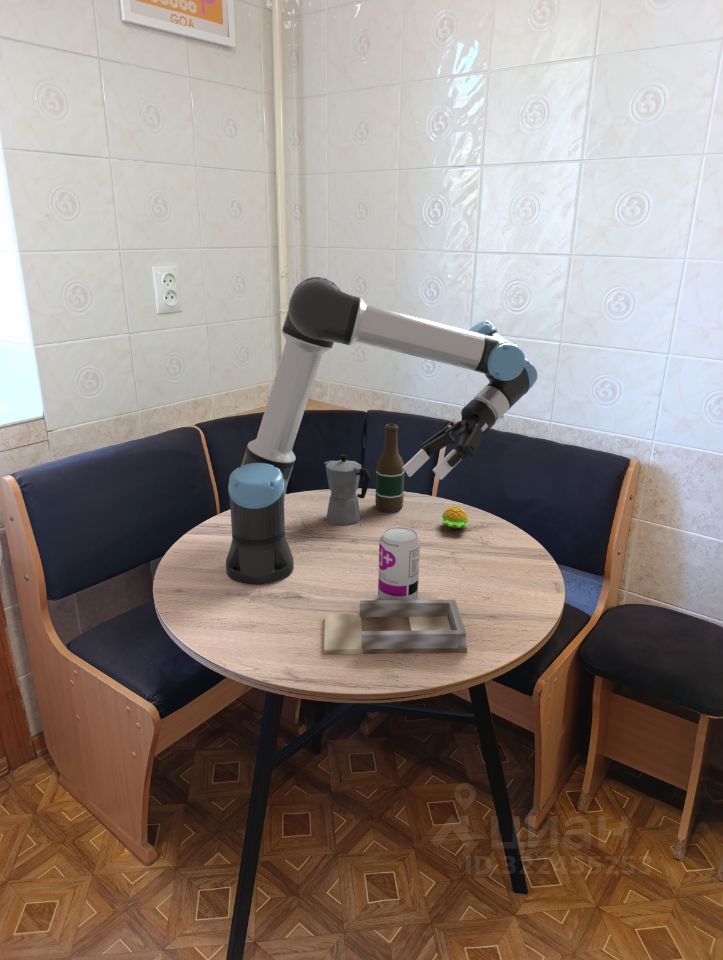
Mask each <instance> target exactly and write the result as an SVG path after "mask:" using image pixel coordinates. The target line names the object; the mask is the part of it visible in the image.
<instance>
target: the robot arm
mask: <svg viewBox="0 0 723 960" xmlns="http://www.w3.org/2000/svg"><path fill="white" fill-rule="evenodd" d="M281 333H282V335H283V337H284V339H285V342H284V343H285V344H284V347H283V351H282V354H281V356H280V361H279V362H278V366H277V370H276V373H275V377H274V380H273V383H272V386H271V390H270V393H269V396H268V400H267V402H266V405H265V410H264V413H263V416H262V419H261V421H260V422H261V423H260V426H259V429H258V431H257V435H256V438H255V439H252V440H251V441H249V442H248V443H247V446H246V448H245V449H246V450H245V452H244V456H243V458H242V462H241V465H240V467H236V469H234V470H233V471H232V472H231V473H230V475H229V480H228V486H227V488H228V491H227V492H228V495H229V507H230V508H229V509H230V523H231V524H230V525H231V537H232V538H231V542H230V543H231V544H230V546H229V550H228V553H227V557H226V561H225V569H226V570H225V571H226V575H227V576H228V578H229V579H230V580H232V581H235V582H237V583H238V584H239V583H240V584H242V585H243V584H244V585H253V586H257V585H268V584H273V583H277V582H279V581H282V580H284V579H286V578H287V577H289V576H290V575H291V574H292V573H293V571H294V568H295V567H294V565H295V563H294V562H295V561H294V555H293V553H292V550H291V548H290V545H289V543H288V540H287V538H286V529H285V527H286V526H285V525H286V524H285V500H286V494H287V487H288V483H289V480H290V478H291V474H292V471H293V469H294V464H295V461H296V459H297V458H296V455H295V453H294V451H293V448H294V444H295V441H296V438H297V435H298V432H299V428H300V425H301V423H302V419H303V416H304V412H305V411H306V407H307V404H308V401H309V397H310V395H311V391H312V389H313V385H314V382H315V379H316V376H317V373H318V370H319V367H320V364H321V362H322V357H323V356H324V354H325V353H327V352H328V351H330V350H332V349H333V345H334V343H337V344H342V345H346V346H352V345H354V344H355V343H359V344H363V345H367V346H372V347H376V348H379V349H385V350H388V351H393V352H397V353H401V354H405V355H409V356H412V357H413V356H414V357H416V358H421V359H426V360H430V361H433V362H438V363H440V364H441V363H442V364H444V365H449V366H450V365H451V366H454V367H457V368H462V369H467V370H471V371H474V372H477V373H481V374H484V376H485V377H486V378H487V380H488V381H489V382H488V383H487V385H486V386H484V387H483V388H482V389H481V390H480V391H478V393H476V395H474V397H473V399H472V400H470V401H469V402H468V403H467V404H466V405H465V406H464V407H463V408H462V409H461V411H460V415H461V420H458V421H457V422H454V421H453V420H452V421H450V422H449V423H448V424H447V425H446V426H444V427H443V428H442V429H440V430H439V431H438V432H436V433H435V434H433V435H432V436H431V437H429V438H427V440H425V441H424V442H422V443H420V444H419V445H418V448H419V451H418V452H417V453H416V454H415V455H414V456H412V458H411V459H410V460H408V461H407V462H406V463H405V464H404V466H403V467H402V468H403V469H404V473H406V475H407V477H409V478H411V477H412V476H413V475H414V474H415V473H416V472H417V471H418V470H419V469H420V468H422V466H424V464H425V463H426V462H427V461H429V460H430V459H431V456H432V455H434V454H435V453H437V452H438V451H441V450H442V449H444V448H445V447H446V446H449V445H450V444H452V445H455V444H456V443H457V444H456V445H455V446H454V449H452V450H451V451H450V452H449V453H448V454H447V455H445V457H443V459H441V461H440V462H439V463H437V464H436V465H435V467H433V469H432V471H433V473H434V474H435V476H436V477H437V478H438V480H443V479H444V478H445V477H446V476H447V475H448V474H449V473H450V472H451V471H452V470H453V469H454V468H455V467H456V466H457V465H458V464H459V463H460V462H461V461H462V459H466V458H467V457H468V456H469V457H470V458H471V457H473V456H474V455H475V453H476V451H477V450H478V448H479V446H480V445H481V443H482V441H483V439H484V438H485V436H486V434H487V433H488V432H489V431H490V430H491V429H492V428H493V426H494V425H495V424H496V422H498V421H499V420H500V419H503V418H504V417H505V416H504V415H505V414H506V413H507V412H508V411H509V410H510V409H511V408H512V407H513V406H514V405H515V404H517V402H518V401H519V400H521V398H522V397H524V395H526V394H527V393H528V392H529V391H530V389H532V387H534V385H535V384H536V382H537V381H538V371H537V369H536V366H534V364H533V363H530V360H528V359H527V358H526V357H525V353H524V352H523V350H522V349H521V348H520V346H519V345H517V344H516V343H515V342H511V341H509V340H507V339H506V338H504V337H503V336H502V335H500V333H499V331H498V329H497V328H496V327H495V326H494V325H493V324H492V322H491V321H489V320H484V321H481V322H479V323H477V324H475V325H474V326H472V327H471V328H470V329H468V330H466V329H462V328H458V327H455V326H450V325H448V324H442V323H439V322H435V321H431V320H428V319H423V318H419V317H415V316H411V315H407V314H403V313H400V312H397V311H392V310H388V309H384V308H380V307H376V306H372V305H368V304H366V303H365V302H364V300H363V299H362V297H358V296H355V295H352V294H349V293H346V292H343V291H342V289H340V288H339V285H337V284H336V283H334V281H332V280H330V279H328V278H325V277H324V278H323V277H321V276H314V277H309V278H305V279H304V280H302V281H301V282H299V283H298V284H297V286H296V287H295V288H294V290H293V292H292V294H291V296H290V299H289V303H288V309H287V313H286V316H285V320H284V323H283V326H282V330H281Z"/></svg>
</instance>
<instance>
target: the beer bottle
mask: <svg viewBox="0 0 723 960" xmlns="http://www.w3.org/2000/svg"><path fill="white" fill-rule="evenodd" d="M383 429H384V439H383V440H384V442H383V449H382V450H383V451H382V454H381V455H380V457H379V458H378V460H377V463H376V467H375V497H374V498H375V502H374V503H375V508H376V509H377V510H378V511H380V512H383V513H387V514H392V513H396V512H400V511H401V510H402V508H403V505H404V496H405V495H404V490H405V471H404V469H403V468H402V467H403V466H404V465H405V464H404V461H403V458H402V456H401V455H400V454H399V449H398V448H399V447H398V444H399V443H398V441H399V440H398V430H399V427H398V425H397V424H395V423H387V424H385V425H384V428H383Z"/></svg>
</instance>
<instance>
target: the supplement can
mask: <svg viewBox="0 0 723 960" xmlns="http://www.w3.org/2000/svg"><path fill="white" fill-rule="evenodd" d="M378 542H379V543H378V544H379V545H378V582H377V583H378V587H377V588H378V589H377V591H378V592H377V597H378V600H418V597H419V575H420V557H421V555H420V554H421V540H420V538H419V536H418V533H417V531H416V530H413V529H411V528H409V527H402V526H395V527H388V528H386V529H385V530H383V532H382V535H381V536H380V538H379V541H378Z"/></svg>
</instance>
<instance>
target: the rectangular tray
mask: <svg viewBox="0 0 723 960" xmlns="http://www.w3.org/2000/svg"><path fill="white" fill-rule="evenodd" d="M323 638H324V639H323V654H324V655H366V654H367V655H369V654H370V655H374V654H376V655H377V654H378V655H379V654H380V655H381V654H384V655H385V654H389V655H391V654H454V653H455V654H458V653H460V654H461V653H464V654H465V653H466V654H467V653H468V645H467V642H466V641H467V632H466V628H465V626H464V623H463V620H462V617H461V614H460V610H459V608H458V605H457V601H456V599H417V600H379V599H375V600H373V599H372V600H371V599H369V600H366V599H364V600H359V613H325V614H324V637H323Z"/></svg>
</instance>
